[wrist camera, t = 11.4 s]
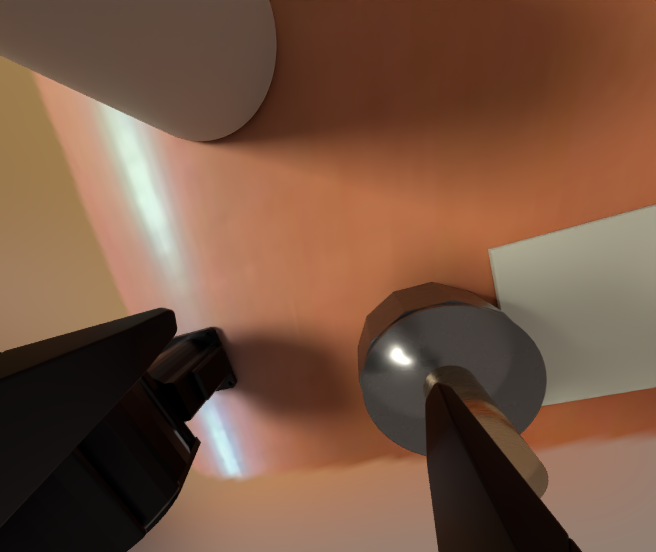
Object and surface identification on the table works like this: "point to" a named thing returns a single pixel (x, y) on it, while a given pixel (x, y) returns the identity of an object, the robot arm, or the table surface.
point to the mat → (586, 303)
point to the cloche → (452, 369)
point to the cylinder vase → (152, 56)
